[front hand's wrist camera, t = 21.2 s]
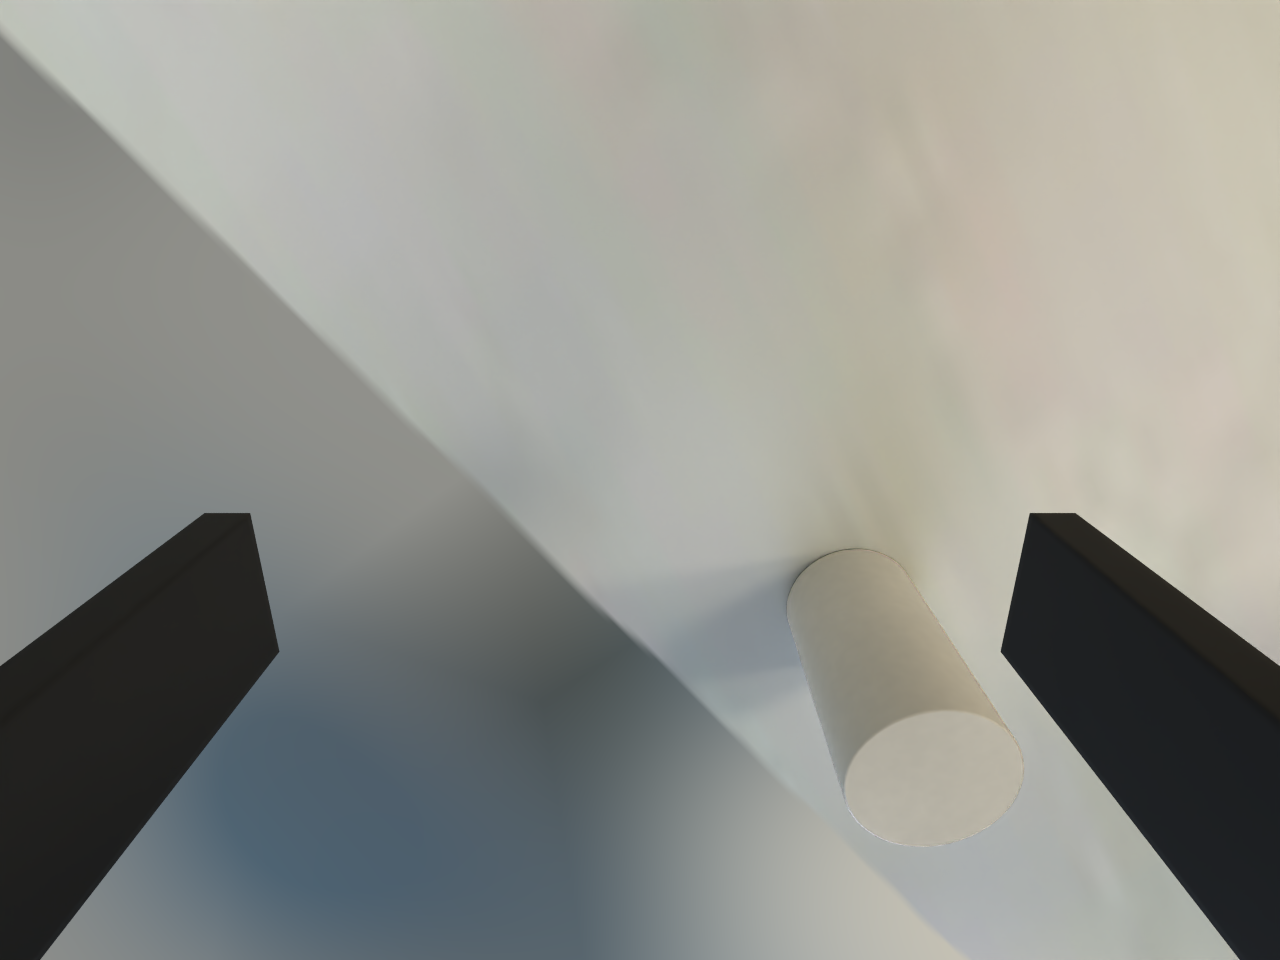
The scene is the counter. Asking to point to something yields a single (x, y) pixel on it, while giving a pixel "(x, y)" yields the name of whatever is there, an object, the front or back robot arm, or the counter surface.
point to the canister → (899, 705)
